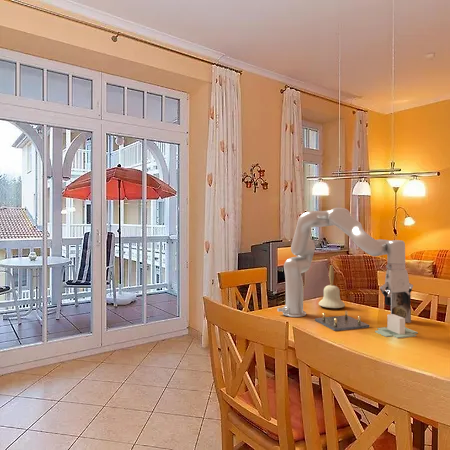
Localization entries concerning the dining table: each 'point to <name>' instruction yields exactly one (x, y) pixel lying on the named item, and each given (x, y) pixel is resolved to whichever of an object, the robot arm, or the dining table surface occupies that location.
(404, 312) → the coffee box
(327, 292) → the handbell
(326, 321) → the plate
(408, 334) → the board
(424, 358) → the dining table surface
